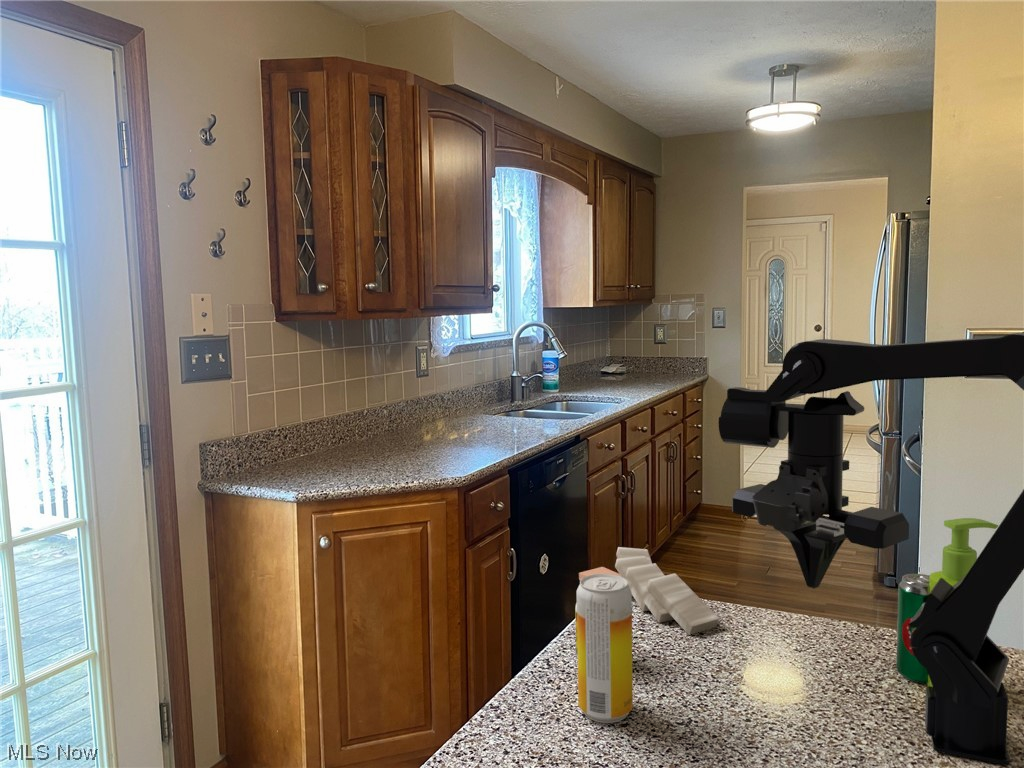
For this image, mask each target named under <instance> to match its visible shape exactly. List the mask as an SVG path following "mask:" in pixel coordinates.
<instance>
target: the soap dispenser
mask: <svg viewBox="0 0 1024 768" xmlns="http://www.w3.org/2000/svg"><path fill="white" fill-rule="evenodd" d="M943 526H944V527H945V528H948V529H951V542H950V543H951V544H948V545H945V546H944V547H943V548H942V558H941V559H942V561H941V564H942V565H941V570H938V571H934V572H931V573H930V575H929V576H930V578H929V586H930V592H931V591H932V589H933V588H934V586H935V585H936V583H937V582H938V581H939V579H940V578H943V579H944V580H945V581H946V582H948V583H949V584H950V585H951V586H953V585H955V584H956V583H957V582H958V581H959V580H961V579H962V578H963V577H964V576H965V575H966V574H967V573H968V571H969V570H970V568H971V567H972V565H973V564H974V562H975V561H976V559H977V558H978V552H977V550H975V549H974V548H972V547H971V546H970V543H969V542H970V541H969V539H970V529H971V530H972V529H979V528H980V529H981V528H984V529H985V528H987V529H995V530H997V528H998V527H999V525H998V524H996V523H993V522H990V521H988V520H985V519H981V518H976V517H975V518H974V517H973V518H972V517H962V518H961V517H960V518H955V519H954V518H953V519H946V520H944V521H943ZM926 685H927V687H928V686H931V687H932V683H931V680H930V677H929V675H928V682H927V684H926Z"/></svg>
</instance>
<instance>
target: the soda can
mask: <svg viewBox="0 0 1024 768" xmlns="http://www.w3.org/2000/svg"><path fill="white" fill-rule="evenodd" d="M901 577H902V578H901V581H900V582H899V583H898V586H897V587H898V589H897V622H896V623H897V625H896V626H897V627H896V628H897V629H896V660H895V661H896V663H895V664H896V665H895V668H896V671H898V673H899V674H900V675H901V676H902V677H903V678H904V679H906V680H908V681H910V682H914V683H915V684H916V683H917V684H921V685H922V684H923V685H927V682H928V672H927V669H926V668H925V667H924V666H923V665H921V664H920V663H919V661H918V660H917V658H916V657H915V656H914V653H913V650H912V648H911V646H910V638H911V636H912V633H913V631H914V630H915V627H910V626H909V623H910V621H911V620H912V619H913V617H914V616H915V614H916V613H917V611H918V610H919V608H920V607H921V606H922V604H923V603H925V602H926V600H927V597H928V595H929V594H930V586H929V578H930V575H928V574H923V573H907V574H904V575H902V576H901Z"/></svg>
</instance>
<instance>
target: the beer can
mask: <svg viewBox="0 0 1024 768" xmlns="http://www.w3.org/2000/svg"><path fill="white" fill-rule="evenodd" d="M632 600H633V596H632V592H631V590H630V588H629V586H628V581H627V580H626V579H624V578H623V577H620V576H617V575H611V574H594V575H589V576H586V577H584V578H582V579H581V580H579V585H578V587H577V589H576V603H577V647H578V658H577V688H578V689H577V692H578V693H577V694H578V696H577V697H578V698H577V700H578V701H577V702H578V707H579V709H580V710H581V711H582V712H583V713H584V715H585V716H586V718H588V719H589V720H591V721H594V722H598V723H602V724H603V723H605V724H608V723H609V724H611V723H618V722H620V721H622V720H624V719H626V718H627V716H628V714H629V713H630V712H631V711H632V709H633V708H634V707H633V706H634V705H633V704H634V703H633V702H634V700H633V698H634V697H633V696H634V693H633V691H634V690H633V689H634V688H633V687H634V686H633V685H634V684H633V683H634V682H633V681H634V679H633V603H632V602H633V601H632Z"/></svg>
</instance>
